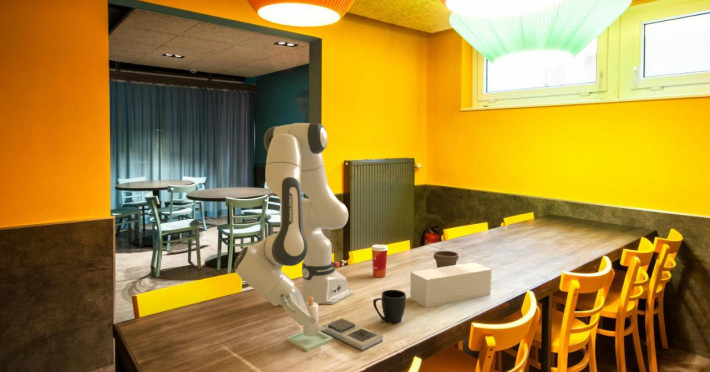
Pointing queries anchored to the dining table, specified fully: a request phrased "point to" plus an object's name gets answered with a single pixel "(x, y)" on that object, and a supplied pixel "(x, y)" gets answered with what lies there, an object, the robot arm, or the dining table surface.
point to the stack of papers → (450, 283)
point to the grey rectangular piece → (352, 334)
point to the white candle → (313, 311)
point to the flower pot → (445, 258)
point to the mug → (392, 306)
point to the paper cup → (379, 260)
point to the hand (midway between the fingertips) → (312, 317)
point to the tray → (309, 340)
